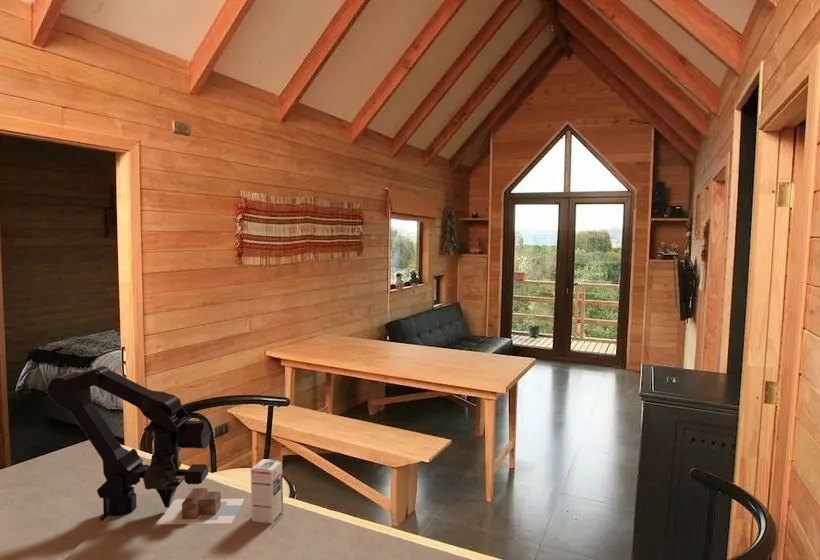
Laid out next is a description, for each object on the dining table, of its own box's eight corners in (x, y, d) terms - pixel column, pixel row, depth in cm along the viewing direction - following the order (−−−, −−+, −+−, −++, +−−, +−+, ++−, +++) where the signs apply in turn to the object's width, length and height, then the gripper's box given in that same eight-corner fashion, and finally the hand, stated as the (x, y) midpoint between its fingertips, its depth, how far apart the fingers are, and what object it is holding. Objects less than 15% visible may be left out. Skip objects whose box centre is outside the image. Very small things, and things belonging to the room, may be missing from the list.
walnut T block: (182, 519, 128) (181, 503, 128) (193, 503, 136) (193, 488, 136) (213, 518, 129) (212, 503, 128) (223, 502, 137) (222, 487, 136)
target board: (155, 528, 126) (155, 524, 126) (175, 503, 138) (175, 499, 138) (231, 527, 127) (231, 523, 127) (244, 502, 139) (244, 498, 139)
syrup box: (273, 527, 127) (272, 470, 126) (250, 524, 128) (250, 467, 127) (283, 515, 133) (283, 460, 131) (262, 512, 134) (261, 458, 133)
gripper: (111, 461, 122) (113, 524, 123) (192, 460, 123) (194, 523, 124) (133, 442, 133) (135, 501, 134) (208, 441, 134) (209, 500, 135)
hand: (167, 506), depth 132 cm, fingers closed
